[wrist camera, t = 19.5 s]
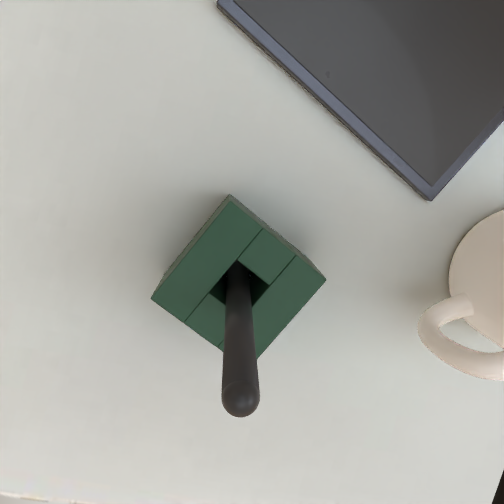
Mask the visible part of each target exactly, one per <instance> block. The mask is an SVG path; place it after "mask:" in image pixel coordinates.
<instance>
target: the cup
mask: <svg viewBox="0 0 504 504" xmlns="http://www.w3.org/2000/svg"><path fill="white" fill-rule="evenodd" d="M449 290H450V294H451V297H450V298H447V299H445V300H442V301H440V302H438V303H436V304H435V305H433V306H431V307H430V308H428V309H427V310H426V311H425V312H424V313H423V314H422V315H421V317H420V319H419V321H418V325H417V330H418V334H419V337H420V339H421V340H422V342H423V344H424V345H425V346H426V347H427V348H428V349H429V350H430V351H431V352H432V353H433V354H434V355H436V356H437V357H438V358H440V359H441V360H442V361H444V362H445V363H447V364H449V365H450V366H452V367H454V368H456V369H458V370H460V371H462V372H464V373H467V374H469V375H472V376H475V377H479V378H483V379H490V380H504V351H501V352H496V353H484V352H479V351H475V350H472V349H469V348H466V347H464V346H462V345H460V344H458V343H456V342H454V341H452V340H450V339H449V338H447V337H446V336H445V335H443V334H442V332H441V331H440V330H439V328H440V327H441V326H442V325H444V324H445V323H448V322H450V321H453V320H456V319H460V318H463V319H464V320H465V321H466V322H467V323H468V324H469V325H470V326H471V327H473V328H474V329H475V330H476V331H478V332H479V333H481V334H482V335H483V336H485V337H486V338H488V339H489V340H491V341H492V342H494V343H495V344H497V345H498V346H500V347H501V348H503V349H504V210H502V211H499V212H497V213H494V214H492V215H490V216H488V217H487V218H485V219H483V220H482V221H480V222H479V223H478V224H476V225H475V226H474V227H473V228H472V229H471V230H470V231H469V232H468V233H467V234H466V235H465V237H464V238H463V239H462V241H461V242H460V244H459V245H458V247H457V249H456V251H455V253H454V255H453V258H452V261H451V265H450V270H449Z"/></svg>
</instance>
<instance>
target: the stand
mask: <svg viewBox="0 0 504 504" xmlns="http://www.w3.org/2000/svg"><path fill="white" fill-rule="evenodd" d="M236 259H237V260H238V261H239V262H240V263H241V264H243V265H244V266H245V267H246V268H248V269H249V270H250V271H252V272H253V273H254V275H253V276H252V277H251V278H250V280H249V283H250V294H251V305H252V316H253V326H254V337H255V348H256V359H257V358H258V357H259V356H260V355H261V354H262V353H263V352H264V351H265V349H266V348H267V347H268V346H269V345H270V344H271V343H272V341H273V340H274V339H275V338H276V337H277V336H278V335H279V333H280V332H281V331H282V330H283V329H284V328H285V327H286V326H287V324H288V323H289V322H290V321H291V320H292V319H293V318H294V316H295V315H296V314H297V313H298V312H299V311H300V310H301V309H302V307H303V306H304V305H305V304H306V303H307V302H308V301H309V299H310V298H311V297H312V296H313V295H314V294H315V293H316V291H317V290H318V289H319V288H320V287H321V286H322V285H323V284H324V282H325V281H326V278H325V277H324V276H323V275H322V274H321V272H320V271H319V270H318V269H317V268H316V267H315V265H314V264H313V263H312V262H311V261H310V260H309V259H308V258H307V257H306V256H305V255H304V254H302V253H301V252H300V251H299V250H298V249H296V248H295V247H294V246H293V245H291V244H290V243H289V242H288V241H287V240H285V239H284V238H283V237H282V236H280V235H279V234H278V233H277V232H276V231H274V230H273V229H272V228H271V227H270V226H268V225H267V224H266V223H265V222H263V221H262V220H261V219H260V218H259V217H257V216H256V215H255V214H254V213H253V212H251V211H250V210H249V209H248V208H246V207H245V206H244V205H243V204H242V203H240V202H239V201H238V200H237V199H236V198H234V197H233V196H232V195H231V194H229V195H228V196H227V197H226V199H225V200H224V201H223V202H222V204H221V205H220V206H219V207H218V208H217V210H216V211H215V212H214V213H213V215H212V216H211V217H210V218H209V220H208V221H207V222H206V223H205V225H204V226H203V227H202V228H201V229H200V231H199V232H198V233H197V234H196V236H195V237H194V238H193V239H192V241H191V242H190V243H189V244H188V245H187V247H186V248H185V249H184V250H183V252H182V253H181V254H180V255H179V257H178V258H177V259H176V260H175V262H174V263H173V264H172V265H171V266H170V268H169V269H168V270H167V271H166V273H165V274H164V276H163V277H162V279H161V281H160V283H159V284H158V286H157V288H156V290H155V291H154V293H153V295H152V297H151V299H152V300H153V301H154V302H156V303H157V304H158V305H160V306H161V307H162V308H164V309H165V310H167V311H168V312H169V313H171V314H172V315H173V316H175V317H176V318H178V319H179V320H180V321H182V322H184V324H186V325H187V326H188V327H190V328H191V329H192V330H194V331H195V332H197V333H198V334H199V335H201V336H202V337H203V338H205V339H206V340H208V341H209V342H210V343H212V344H213V345H214V346H216V347H218V348H219V349H220V350H221V351H223V352H224V330H225V308H226V286H227V281H226V280H225V279H223V278H222V276H223V275H224V274H225V272H226V271H227V270H228V269H229V268H230V266H231V265H232V264H233V263H234V262H235V260H236Z"/></svg>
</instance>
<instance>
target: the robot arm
mask: <svg viewBox="0 0 504 504" xmlns="http://www.w3.org/2000/svg"><path fill="white" fill-rule="evenodd" d="M492 504H504V471H503V474H502V476H501V479H500V482H499V485H498V488H497V491H496V493H495V496H494V499H493V502H492Z"/></svg>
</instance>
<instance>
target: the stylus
mask: <svg viewBox="0 0 504 504" xmlns="http://www.w3.org/2000/svg"><path fill="white" fill-rule="evenodd" d="M221 397H222V404H223V406H224V408H225V409H226V411H227V412H228V413H229V414H231V415H233V416H235V417H246V416H248V415H250V414H252V413H253V412H254V411H255V410H256V408H257V406H258V404H259V401H260V392H259V381H258V370H257V359H256V348H255V337H254V326H253V316H252V305H251V294H250V283H249V272H248V268H246V267H245V266H244V265H243V264H241V263H240V262H239V261H235V262H234V263H233V264H232V265H231V266H230V268H229V269H228V270H227V286H226V308H225V330H224V352H223V374H222V396H221Z"/></svg>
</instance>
